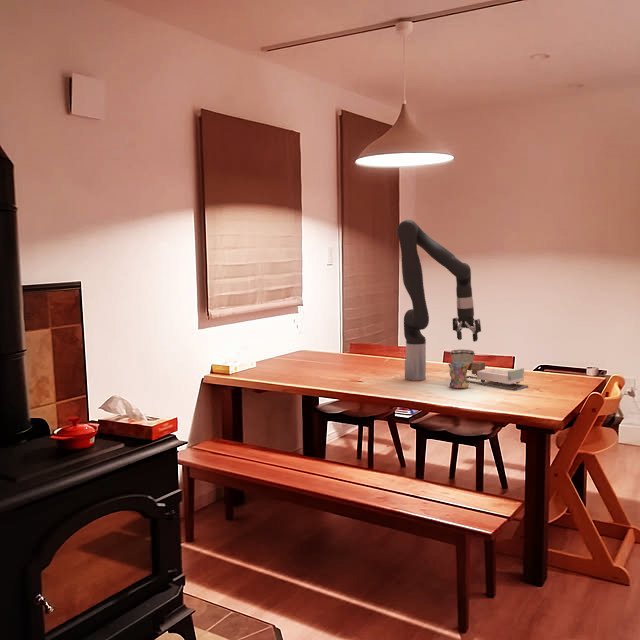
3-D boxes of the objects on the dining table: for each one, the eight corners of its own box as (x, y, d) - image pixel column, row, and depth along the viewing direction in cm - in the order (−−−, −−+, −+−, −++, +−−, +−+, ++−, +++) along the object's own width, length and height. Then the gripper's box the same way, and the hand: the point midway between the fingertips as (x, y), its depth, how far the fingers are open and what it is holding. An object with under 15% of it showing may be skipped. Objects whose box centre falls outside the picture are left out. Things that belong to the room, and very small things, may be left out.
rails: (515, 390, 277) (515, 388, 277) (455, 380, 302) (455, 378, 302) (528, 387, 284) (528, 385, 284) (468, 377, 308) (468, 375, 308)
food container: (473, 368, 331) (473, 349, 330) (474, 370, 325) (474, 351, 324) (448, 368, 332) (448, 349, 331) (450, 370, 326) (450, 351, 325)
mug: (455, 384, 293) (455, 361, 292) (473, 386, 286) (473, 363, 285) (440, 388, 284) (440, 365, 283) (459, 391, 278) (459, 367, 276)
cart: (509, 387, 279) (509, 371, 278) (477, 382, 292) (477, 366, 291) (523, 383, 286) (524, 368, 285) (491, 378, 299) (491, 363, 298)
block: (479, 375, 312) (479, 363, 311) (471, 374, 315) (471, 362, 314) (485, 374, 314) (485, 362, 314) (477, 373, 318) (477, 361, 317)
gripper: (447, 307, 300) (450, 340, 302) (473, 308, 289) (475, 343, 292) (457, 304, 304) (459, 337, 307) (482, 305, 294) (485, 340, 297)
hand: (467, 340), depth 300 cm, fingers open, 8 cm apart
